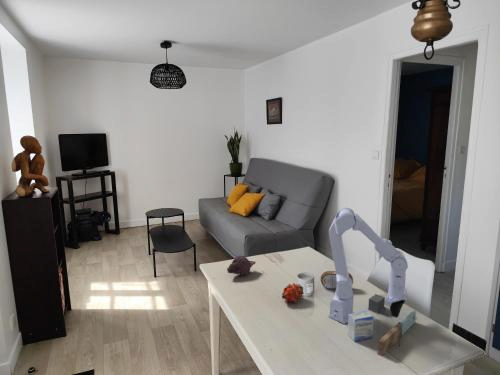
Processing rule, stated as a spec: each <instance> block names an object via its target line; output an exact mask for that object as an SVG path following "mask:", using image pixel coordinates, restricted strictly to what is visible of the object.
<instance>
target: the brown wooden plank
mask: <svg viewBox="0 0 500 375" xmlns="http://www.w3.org/2000/svg"><path fill="white" fill-rule="evenodd" d="M400 322H401V321H398V322H397V324H395V325H394V326H393V327H392V328H391V329H390V330H389V331H388V332H387V333H386V334H384V335H383V336H382V337H381V338H380V339H379V340H378V342H377V344H378V345H377V355H379V356H381V357H383V356H384V354H386V353H387V352H388V351H389V350H390V349H391V348H392V347H393V346H394V345H395V344H397V342H398V341H399V340H400V339H401V338H402V337H403V334H402V323H400Z"/></svg>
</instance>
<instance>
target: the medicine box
mask: <svg viewBox="0 0 500 375" xmlns="http://www.w3.org/2000/svg"><path fill="white" fill-rule="evenodd" d="M374 317H375V316H373V314H371V313H370V312H369V311H368V310H365V311H359V312H354V313H353V314H348V322H347V335H348V336H349V337H350V339H352V341H353V342H359V341H363V340H367V339H372V338H374V319H375V318H374Z"/></svg>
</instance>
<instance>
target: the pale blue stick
mask: <svg viewBox="0 0 500 375" xmlns="http://www.w3.org/2000/svg"><path fill="white" fill-rule="evenodd" d="M416 320H417V321H418V316H417V311H416V310H412V311H411V312H410V313H409V314H408V315H406V316H405V318H403V319H402V320H401V321H399V322H400V323H402V335H404V333H406V332H407V331H408V330H409V329H410V328H411V327H412V326H413V325H414V324H415V323H416Z"/></svg>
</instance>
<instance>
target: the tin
mask: <svg viewBox="0 0 500 375" xmlns="http://www.w3.org/2000/svg"><path fill="white" fill-rule="evenodd" d="M348 273H349V276H350V278H351V279H352V282H353V284H354V277H353V276H352V274H351V273H350V272H348ZM320 283H321V285H322V286H323V288H325V289H329V290H336V288H337V278H336V270H327V271H324V272H322V274H321V275H320ZM353 284H352V286H353Z"/></svg>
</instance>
